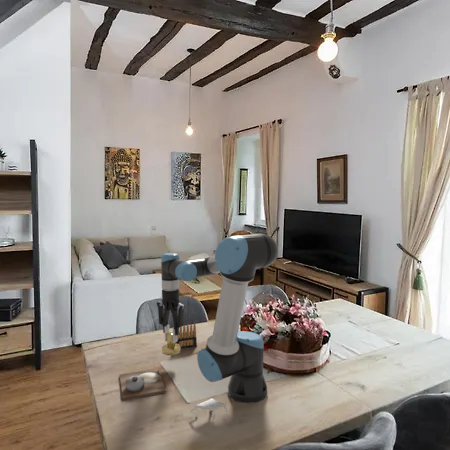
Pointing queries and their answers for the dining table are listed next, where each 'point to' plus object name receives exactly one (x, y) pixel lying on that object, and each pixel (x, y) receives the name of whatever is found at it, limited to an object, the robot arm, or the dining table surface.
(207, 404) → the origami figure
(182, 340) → the ammunition clip
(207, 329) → the dining table surface
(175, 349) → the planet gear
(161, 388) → the carrier plate
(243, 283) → the robot arm
